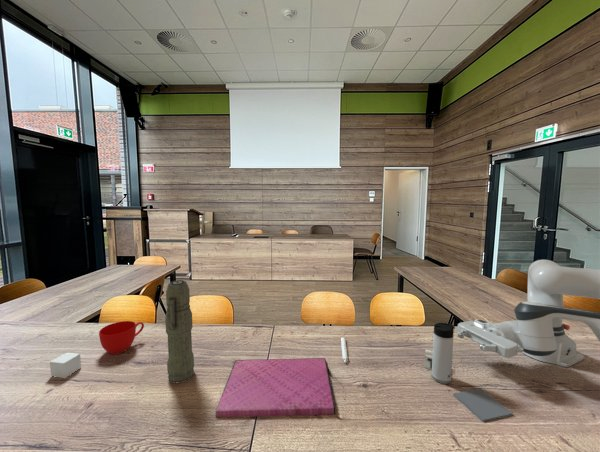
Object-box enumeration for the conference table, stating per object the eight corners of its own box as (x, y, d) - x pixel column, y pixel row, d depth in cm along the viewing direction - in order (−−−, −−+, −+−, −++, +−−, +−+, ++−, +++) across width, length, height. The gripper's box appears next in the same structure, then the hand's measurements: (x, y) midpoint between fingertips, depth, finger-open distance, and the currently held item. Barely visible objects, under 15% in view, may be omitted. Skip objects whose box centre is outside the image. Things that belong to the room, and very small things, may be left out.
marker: (348, 365, 104) (348, 359, 104) (342, 365, 104) (342, 359, 104) (345, 341, 122) (345, 336, 122) (340, 341, 122) (340, 336, 122)
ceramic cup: (152, 343, 119) (150, 322, 118) (109, 362, 105) (107, 338, 104) (137, 335, 126) (135, 315, 125) (94, 352, 112) (93, 330, 111)
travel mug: (454, 385, 92) (457, 330, 90) (434, 382, 94) (436, 328, 92) (448, 374, 98) (451, 322, 97) (429, 371, 100) (431, 320, 98)
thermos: (197, 364, 104) (194, 276, 101) (189, 384, 92) (185, 286, 89) (173, 366, 103) (170, 277, 100) (162, 387, 91) (157, 287, 88)
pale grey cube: (81, 368, 101) (80, 353, 101) (65, 379, 96) (63, 363, 95) (67, 367, 102) (66, 352, 102) (51, 377, 97) (49, 361, 96)
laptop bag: (214, 406, 78) (234, 355, 105) (214, 419, 79) (235, 365, 106) (349, 403, 79) (335, 353, 106) (349, 415, 79) (335, 362, 106)
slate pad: (480, 389, 90) (480, 388, 90) (513, 415, 79) (513, 413, 79) (453, 395, 88) (453, 393, 88) (482, 421, 77) (483, 420, 77)
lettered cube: (425, 361, 106) (425, 349, 106) (439, 364, 104) (439, 352, 104) (424, 368, 102) (424, 356, 101) (438, 372, 99) (439, 359, 99)
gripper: (526, 358, 93) (497, 366, 89) (472, 331, 112) (446, 336, 108) (527, 341, 92) (498, 347, 88) (473, 317, 112) (447, 321, 108)
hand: (469, 341), depth 98 cm, fingers open, 8 cm apart
